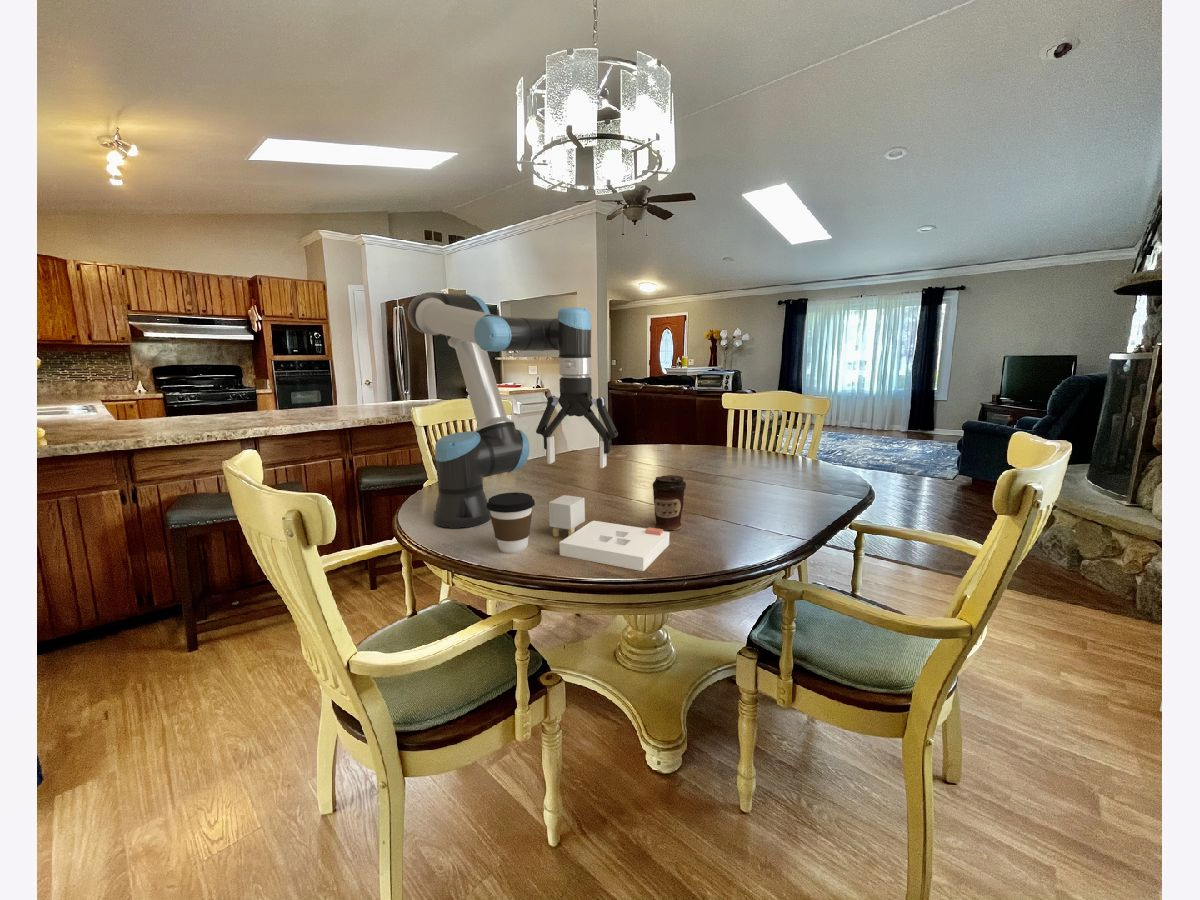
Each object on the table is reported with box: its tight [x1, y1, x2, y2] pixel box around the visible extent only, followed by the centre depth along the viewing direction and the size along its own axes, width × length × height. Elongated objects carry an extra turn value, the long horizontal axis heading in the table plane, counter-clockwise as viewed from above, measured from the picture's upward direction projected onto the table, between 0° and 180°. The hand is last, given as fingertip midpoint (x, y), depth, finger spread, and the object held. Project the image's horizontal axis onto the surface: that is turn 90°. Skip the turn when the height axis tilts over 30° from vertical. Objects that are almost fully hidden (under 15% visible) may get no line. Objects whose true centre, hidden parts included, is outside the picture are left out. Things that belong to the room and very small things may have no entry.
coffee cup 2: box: [652, 474, 687, 531], centre depth 126 cm, size 9×8×13 cm
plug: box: [548, 494, 586, 538], centre depth 123 cm, size 7×6×9 cm
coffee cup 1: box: [487, 492, 536, 554], centre depth 114 cm, size 11×11×12 cm
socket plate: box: [558, 520, 670, 572], centre depth 113 cm, size 16×20×4 cm
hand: (576, 464), depth 121 cm, fingers open, 13 cm apart
